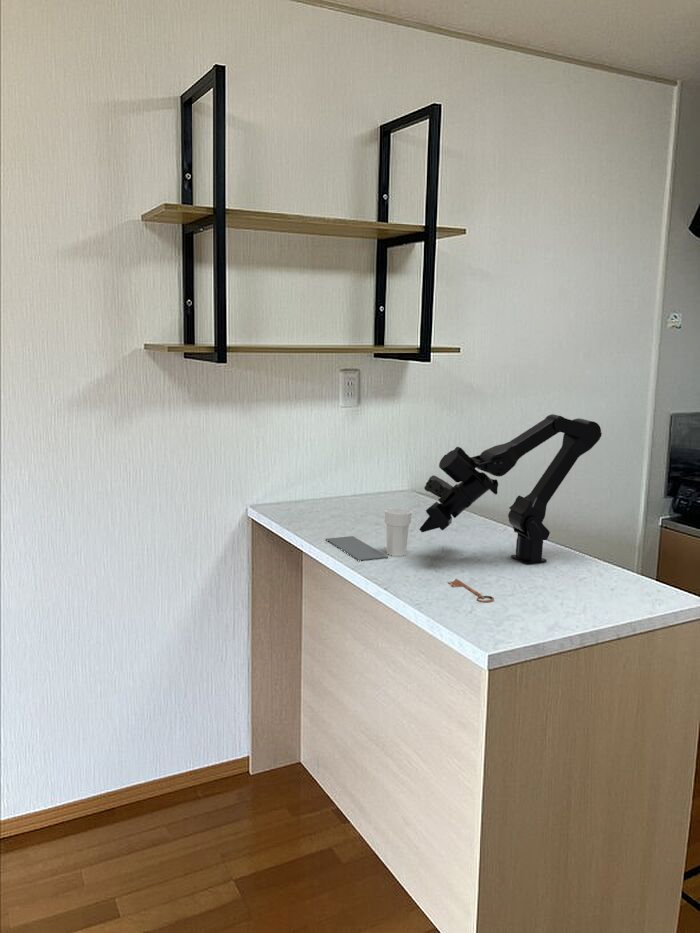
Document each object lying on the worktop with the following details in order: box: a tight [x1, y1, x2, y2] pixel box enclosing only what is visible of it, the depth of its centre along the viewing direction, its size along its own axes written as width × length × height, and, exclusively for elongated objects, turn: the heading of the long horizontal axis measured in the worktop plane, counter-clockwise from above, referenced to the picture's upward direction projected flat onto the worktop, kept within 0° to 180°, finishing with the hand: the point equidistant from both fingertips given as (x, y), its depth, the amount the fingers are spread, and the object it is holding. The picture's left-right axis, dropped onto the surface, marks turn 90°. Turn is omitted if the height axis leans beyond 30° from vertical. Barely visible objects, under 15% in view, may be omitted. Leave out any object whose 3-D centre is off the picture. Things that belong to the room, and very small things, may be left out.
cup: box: [384, 507, 413, 557], centre depth 208 cm, size 7×7×11 cm
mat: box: [325, 535, 389, 562], centre depth 212 cm, size 20×8×1 cm, turn 26°
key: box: [446, 578, 495, 604], centre depth 182 cm, size 6×1×15 cm
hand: (420, 530), depth 206 cm, fingers closed
